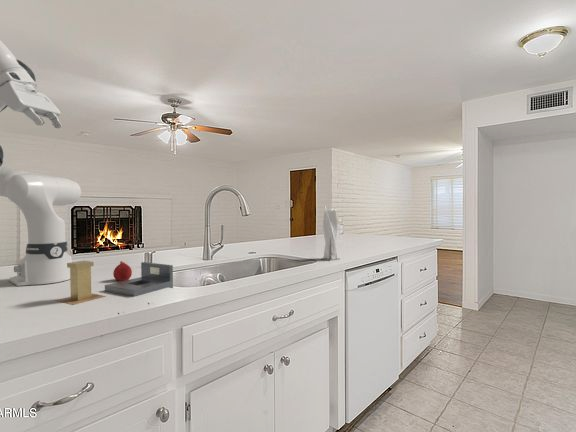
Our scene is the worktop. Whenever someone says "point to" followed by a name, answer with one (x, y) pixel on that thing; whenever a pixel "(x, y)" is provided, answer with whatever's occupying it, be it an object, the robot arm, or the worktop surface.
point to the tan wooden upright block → (80, 279)
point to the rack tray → (145, 280)
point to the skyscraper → (330, 234)
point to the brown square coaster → (73, 302)
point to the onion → (122, 272)
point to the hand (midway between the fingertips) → (50, 126)
